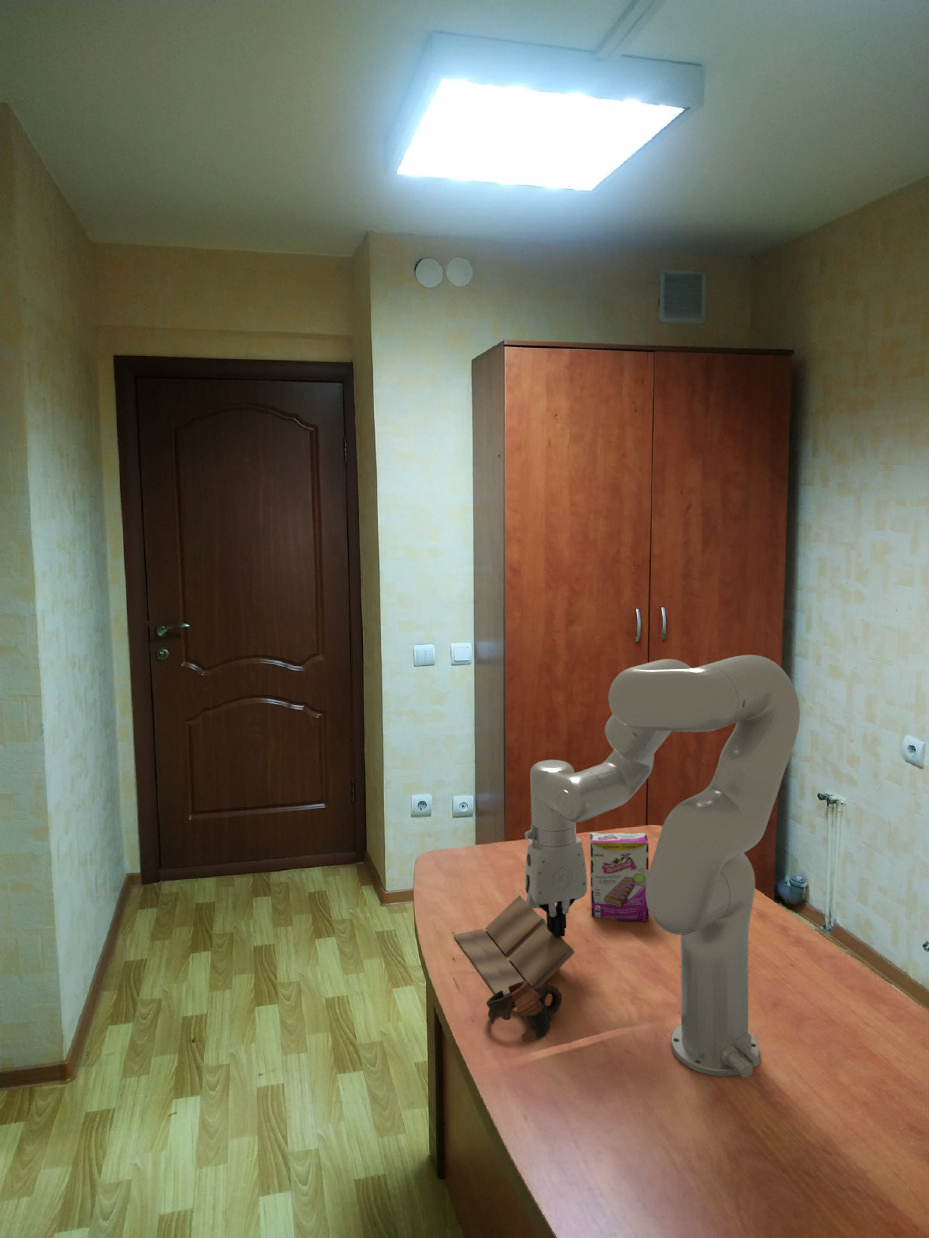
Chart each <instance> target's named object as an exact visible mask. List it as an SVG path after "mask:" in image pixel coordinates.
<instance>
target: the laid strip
mask: <svg viewBox="0 0 929 1238" xmlns="http://www.w3.org/2000/svg"><path fill="white" fill-rule="evenodd" d="M453 939H454V940H455V941H456V942H457V944H458V946H459V947H460V948H461V950H462V951H463V953H464V954H465V956H467V958H468V960H469V961H470V962H471V964H472V965H473V966H474V967H475V969H476V970H477V972H478V973H479V975H480V976H481V977H482V979H483V981H484V982H485V983H486V985H487V986H488V988H489V989H490V990H491V992H492V993H493V994H494V995H495V994H496V993H498V992H499V991H501V990H502V991H503V995H504V996H506V995H507V994H509V993H510V991H509V988H508V987H509V986H511V985H514V984H516V983H519V982H522V981H525V979H524V977H523V976H522V975H521V974H520V972H519V971H517V970H516V967H515V966H514V965H512V962H511V961H509V959H508V957H507V956H506V955H505V954H504V952H503V951H502V950H501V949H500V947H499V946H497V944H496V942H495V941H494V940H493V939H492V937H491V936H490V935H489V934H488V932H487V931H486V930H484V928H478V929H475V930H471V931H465V932H461V933H456V934H454V935H453Z"/></svg>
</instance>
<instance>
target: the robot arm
mask: <svg viewBox="0 0 929 1238" xmlns="http://www.w3.org/2000/svg"><path fill="white" fill-rule="evenodd" d="M799 703H800V701H799V697H798V694H797V691H796V689H795V686H794V684H793V682H792V681H791V679H790V677H789V676H788V674H787V673H786V672H785V671H784V669H783V668H782V667H781V666H779V664H777V663H776V662H775V661H773V660H771V659H769V658H768V657H765V656H762V655H757V654H756V655H755V654H743V655H737V656H733V657H728V658H725V659H722V660H718V661H714V662H711V663H707V664H704V665H700V666H697V667H691V666H690V665H688V664H687V663H686V662H683V661H681V660H678V659H673V658H665V659H658V660H655V661H650V662H647V663H643V664H640V665H636V666H632V667H629V668H626V669H623V670H622V671H621V672H619V674H618V675H617V676H616V677H615V678H614V680H613V681H612V683H611V685H610V688H609V691H608V706H609V708H610V712H611V716H610V717H609V718H608V720H607V721H606V723H605V726H604V734H605V737H606V740H607V742H608V744H609V745H610V746H611V748H612V749H613V751H612V752H611V753H610V754H609V756H608V757H607V758H606V759H605V760H604V761H603V762H602V763H600V764H597V765H594V766H591V767H588V768H587V769H583V770H580V771H577V772H575V769H574V767H573V766H572V765H571V764H570V763H569V762H567V761H564V760H560V759H559V760H558V759H547V760H540V761H537V762H536V763H535V764H534V765H533V766H532V767H531V768H530V771H529V776H530V779H529V780H530V781H529V783H530V784H529V785H530V810H531V811H530V812H531V815H530V816H531V824H530V829H529V830H528V831H525V832H524V838H525V839H526V840H527V841H528V840H529V841H528V845H527V851H526V857H525V866H524V867H525V871H524V887H525V888H524V889H525V893H526V894H527V896H526V899H525V900H526V904H527V905H528V906H529V907H530V908H534V909H541V910H543V911H544V912H545V913H546V922H547V929H548V931H549V932H551V933H552V934H553V935H554V936H555V938H558V937H559V936H561V937H562V938H563V937H565V936H566V931H565V930H566V929H567V914H568V913H569V911H570V908H571V906H572V905H574V902H575V901H578V900H579V899H582V898H583V897H585V895H586V893H587V892H588V874H587V865H586V863H587V862H586V858H585V852H584V847H583V843H582V840H581V838H580V837H578V836H577V823H581V822H586V821H588V820H591V819H593V818H596V817H597V816H599V815H602V814H603V813H607V812H609V811H611V810H614V809H616V808H618V807H621V806H623V805H624V804H626V803H627V802H628V801H629V800H630V799H631V798H632V797H633V796H634V795H635V794H636V792H638V790H639V789H640V788H641V787H642V785H643V784H644V783H645V782H646V780H647V779H648V778H649V776H650V775H651V773H652V771H653V766H654V761H655V755H654V754H655V753H656V751H658V749H659V748H660V747H661V745H663V743H664V742H665V740H667V738H668V737H669V735H670V734H671V733H672V732H687V733H705V732H706V733H707V732H713V731H716V730H720V729H722V728H726V727H728V726H731V725H734V724H735V727H734V729H733V731H732V732H731V734H730V736H729V737H728V739H727V740H726V742H725V743H724V746H723V748H722V751H721V752H720V755H719V759H718V763H717V767H716V769H715V772H714V775H713V776H712V780H711V782H710V783H709V785H708V786H707V787H706V788H705V789H704V790H702V791H701V792H699V793H697V794H695V795H692V796H691V797H687V798H686V799H683V800H682V801H681V802H680V803H678V804H677V805H676V806H674V807H673V809H671V811H670V812H669V814H668V815H667V817H665V820H664V823H663V824H662V827H661V831H660V833H659V837H658V840H657V844H656V846H655V851H654V854H653V857H652V861H651V864H650V866H649V869H648V871H649V874H648V878H647V882H646V902H647V907H648V910H649V915H650V917H651V918H652V919H653V921H654V923H656V925H657V926H658V927H659V928H660V929H662V930H664V931H665V932H667V933H669V934H672V935H678V936H680V994H681V995H680V999H681V1000H680V1002H681V1005H680V1007H681V1008H680V1009H681V1012H680V1013H681V1014H680V1017H681V1023H680V1024H679V1025H678V1026H676V1027H675V1028H674V1029H673V1031H672V1033H671V1036H670V1046H671V1047H670V1048H671V1051H672V1053H673V1055H674V1056H675V1057H676V1058H677V1060H678V1061H680V1062H681V1063H682V1064H683V1065H684V1066H686V1067H688V1068H690V1069H691V1070H693V1071H696V1072H699V1073H702V1074H705V1075H709V1076H714V1077H733V1076H738V1075H740V1076H741V1077H742V1078H744V1079H747V1078H750V1077H751V1076H752V1074H753V1071H754V1070H753V1068H754V1067H758V1066H759V1065H760V1064H761V1058H760V1046H759V1043H758V1041H757V1040H756V1038H755V1037H754V1036H753V1034H752V1033H751V1032H749V943H750V942H749V937H750V924H751V915H752V910H753V905H754V899H755V893H756V876H755V871H754V867H753V865H752V863H751V862H750V860H749V858H748V856H747V855H746V854H745V853H746V852H748V851H749V850H751V849H752V848H754V847H755V846H756V845H757V844H758V843H760V842H761V840H762V838H763V836H764V834H765V831H766V830H767V826H768V823H769V820H770V817H771V814H772V811H773V807H774V805H775V802H776V798H777V796H778V794H779V791H780V787H781V784H782V780H783V776H784V773H785V771H786V768H787V765H788V762H789V759H790V758H791V755H792V752H793V749H794V746H795V743H796V739H797V737H798V733H799V728H800V719H801V710H800V708H801V707H800V704H799Z"/></svg>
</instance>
